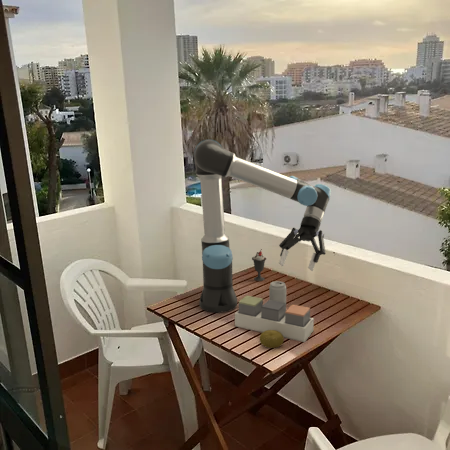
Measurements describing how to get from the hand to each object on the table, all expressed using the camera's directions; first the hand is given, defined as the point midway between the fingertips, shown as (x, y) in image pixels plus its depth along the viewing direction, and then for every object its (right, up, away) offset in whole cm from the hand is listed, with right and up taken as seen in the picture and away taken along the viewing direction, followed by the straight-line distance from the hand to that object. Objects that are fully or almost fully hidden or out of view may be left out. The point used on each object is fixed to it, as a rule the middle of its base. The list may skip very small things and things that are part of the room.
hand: (295, 267), depth 183 cm
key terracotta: (-3, -18, -22) cm, 29 cm away
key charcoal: (-10, -17, -18) cm, 27 cm away
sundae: (-12, -9, +32) cm, 35 cm away
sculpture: (-12, -24, -28) cm, 38 cm away
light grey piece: (-10, -21, -17) cm, 29 cm away
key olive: (-18, -17, -13) cm, 28 cm away
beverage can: (-7, -18, -4) cm, 19 cm away
